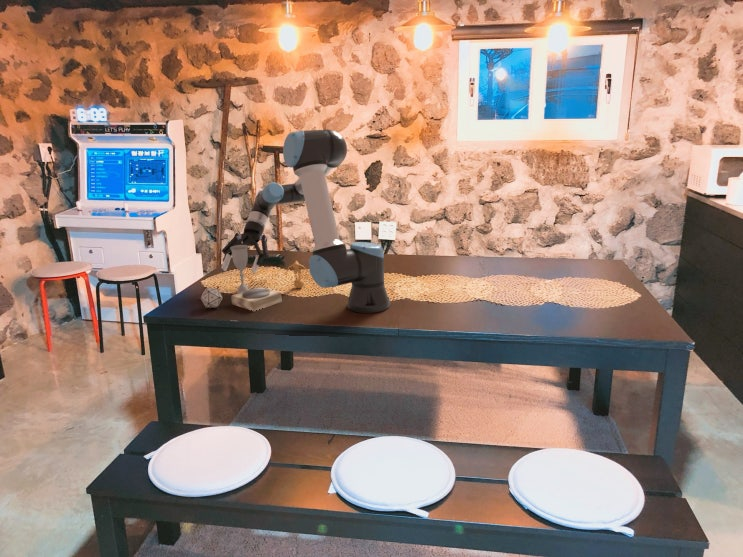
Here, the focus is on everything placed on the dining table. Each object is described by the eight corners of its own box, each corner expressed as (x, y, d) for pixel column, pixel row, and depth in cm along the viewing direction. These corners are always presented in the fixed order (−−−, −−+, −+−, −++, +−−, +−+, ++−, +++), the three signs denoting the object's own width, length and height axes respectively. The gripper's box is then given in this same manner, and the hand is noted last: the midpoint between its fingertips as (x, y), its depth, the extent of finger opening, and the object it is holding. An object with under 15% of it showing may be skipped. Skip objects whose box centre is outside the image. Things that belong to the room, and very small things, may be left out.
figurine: (310, 286, 239) (308, 257, 235) (307, 291, 233) (306, 261, 230) (289, 286, 239) (287, 258, 236) (287, 291, 234) (284, 262, 230)
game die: (214, 319, 217) (207, 304, 208) (198, 308, 220) (190, 292, 212) (231, 302, 221) (225, 287, 212) (215, 291, 224) (208, 276, 216)
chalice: (247, 294, 231) (243, 249, 226) (231, 293, 233) (226, 249, 228) (254, 288, 238) (251, 245, 233) (239, 288, 240) (234, 244, 234)
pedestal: (281, 301, 222) (281, 291, 221) (254, 311, 212) (253, 300, 211) (259, 295, 230) (258, 285, 229) (232, 304, 221) (231, 294, 219)
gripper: (286, 231, 239) (270, 277, 230) (233, 228, 248) (216, 273, 239) (278, 221, 233) (262, 268, 224) (224, 218, 242) (206, 263, 233)
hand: (238, 270), depth 231 cm, fingers open, 13 cm apart
